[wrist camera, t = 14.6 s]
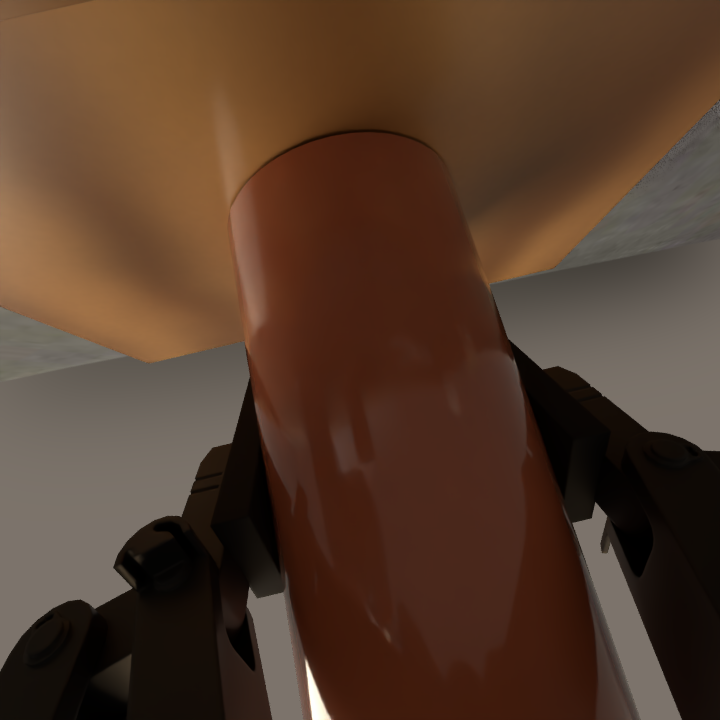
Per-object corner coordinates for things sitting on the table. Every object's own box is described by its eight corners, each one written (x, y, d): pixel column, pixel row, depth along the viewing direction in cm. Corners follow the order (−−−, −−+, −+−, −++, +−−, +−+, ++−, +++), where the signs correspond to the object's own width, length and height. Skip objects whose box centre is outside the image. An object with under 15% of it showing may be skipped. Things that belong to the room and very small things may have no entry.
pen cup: (267, 297, 13) (333, 669, 10) (175, 168, 7) (275, 987, 4) (433, 259, 14) (544, 616, 11) (482, 100, 7) (784, 855, 4)
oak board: (144, 316, 18) (148, 366, 17) (-637, -139, 4) (-765, 26, 3) (536, 224, 18) (555, 270, 17) (1037, -478, 4) (1212, -389, 4)
